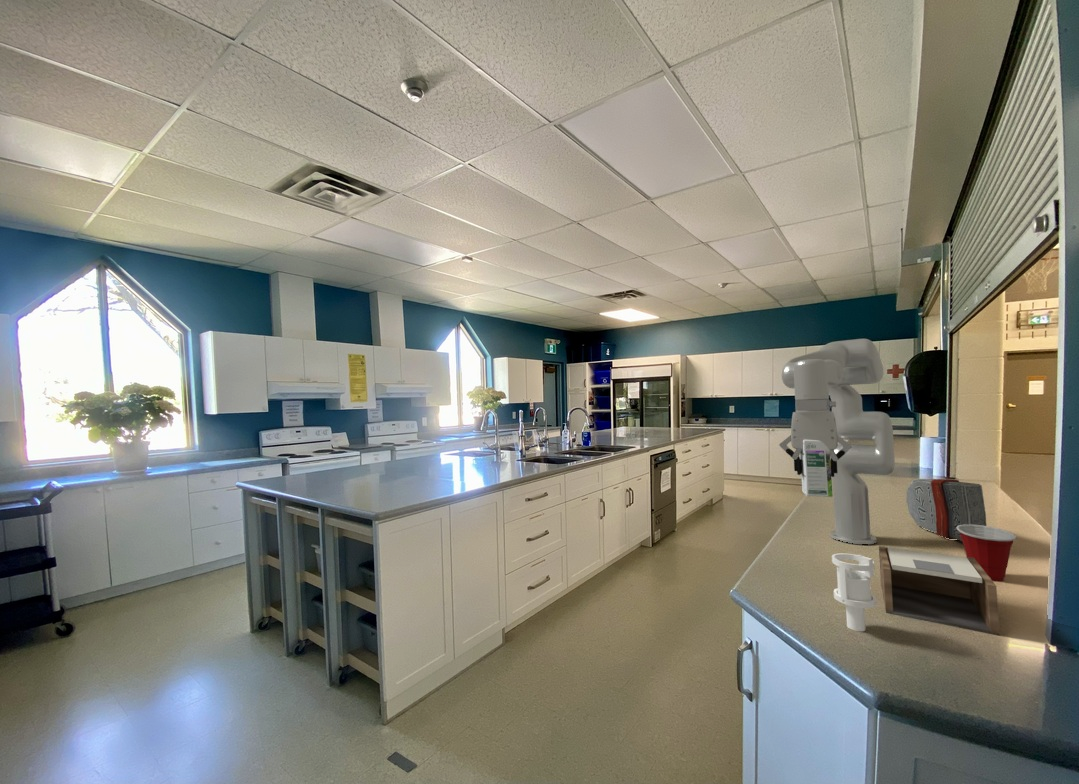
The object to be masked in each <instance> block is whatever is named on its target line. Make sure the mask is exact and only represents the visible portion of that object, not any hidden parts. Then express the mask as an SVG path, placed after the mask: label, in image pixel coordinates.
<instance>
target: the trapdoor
mask: <svg viewBox="0 0 1079 784" xmlns="http://www.w3.org/2000/svg"><path fill="white" fill-rule="evenodd" d="M886 547H887V549H888V554H889V558H890V562H891V566H892V569H894V570H900V571H906V572H913V573H919V574H926V575H932V576H939V577H945V578H952V579H958V580H965V581H971V582H978V583H982V578H981V576H980V575H979V574H978V572H977V571H976V569H975V568H974V567H973V565H972V564H971V563H970V561H969V560H968V559H967V556H959V555H958V556H957V555H953V554H952V555H950V554H944V553H943V554H942V553H936V552H929V551H922V550H913V549H907V548H899V547H898V548H897V547H891V546H886Z"/></svg>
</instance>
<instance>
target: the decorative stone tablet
mask: <svg viewBox="0 0 1079 784" xmlns="http://www.w3.org/2000/svg"><path fill="white" fill-rule="evenodd" d="M982 486H983V485H982V484H980V483H975V482H974V483H973V482H964V481H959V480H958V479H951V478H918V479H917V478H915V479H912V481H911V482H909V485H908V487H907V489H906V505H907V506H906V507H907V510H908V514H909V515H910V517H911V518H912V520H913V522H914V523H915V524H916V526H918V525H919V527H920V526H921V527H923V528H925V529H928V530H930V531H933V532H935V533H934V534H936V533H937V535H938V536H939V535H940V536H943V537H946V538H949V539H957V540H960V541H959V542H962V539H961V536H960V533H959V531H958V530H957V529H956V527H957V526H959V525H982V526H988V525H987V514H986V507H985V498H984V491H983V487H982ZM921 527H920V528H921ZM923 528H922V529H923ZM940 536H939V537H940Z"/></svg>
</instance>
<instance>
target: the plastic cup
mask: <svg viewBox="0 0 1079 784" xmlns="http://www.w3.org/2000/svg"><path fill="white" fill-rule="evenodd" d="M956 529H957V530H958V531H959V533H960V536H961V539H962V541H961V542H962V545H963V549H964V553H965V557H969V558H975V560H976V561H977V562H978V563H979V565H980V566H981V567H982V569H983V570H984V571H985V572H986V574H987V575H988V576H989V577H990V579H991V580H992V581H993V582H1001V581H1002V582H1003V581H1004V580H1005V578H1006V573H1007V568H1008V565H1009V561H1010V560H1009V558H1010V554H1011V548H1012V546H1013V543H1014V541H1016V539H1017V535H1016V534H1014V533H1013V532H1011V531H1008V530H1006V529H1002V528H998V527H994V526H993V527H992V526H989V525H987V526H982V525H959V526H957V527H956Z"/></svg>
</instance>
